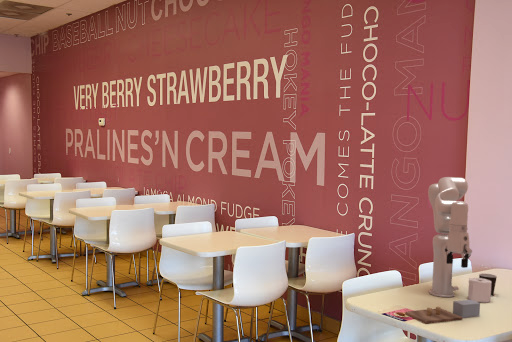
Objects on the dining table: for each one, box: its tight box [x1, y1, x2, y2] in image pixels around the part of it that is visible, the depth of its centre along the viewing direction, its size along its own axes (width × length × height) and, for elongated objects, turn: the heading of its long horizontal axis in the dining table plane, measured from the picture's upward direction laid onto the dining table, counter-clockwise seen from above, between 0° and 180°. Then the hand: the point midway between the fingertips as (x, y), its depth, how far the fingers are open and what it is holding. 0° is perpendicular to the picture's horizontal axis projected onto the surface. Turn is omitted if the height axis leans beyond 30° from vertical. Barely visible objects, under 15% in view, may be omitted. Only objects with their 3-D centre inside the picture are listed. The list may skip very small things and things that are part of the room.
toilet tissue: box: [467, 277, 492, 303], centre depth 267 cm, size 11×12×10 cm
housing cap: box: [452, 299, 481, 319], centre depth 241 cm, size 10×6×6 cm, turn 112°
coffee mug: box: [478, 273, 497, 296], centre depth 281 cm, size 12×9×10 cm
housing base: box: [404, 306, 463, 325], centre depth 236 cm, size 20×14×4 cm
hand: (456, 265), depth 244 cm, fingers open, 9 cm apart
